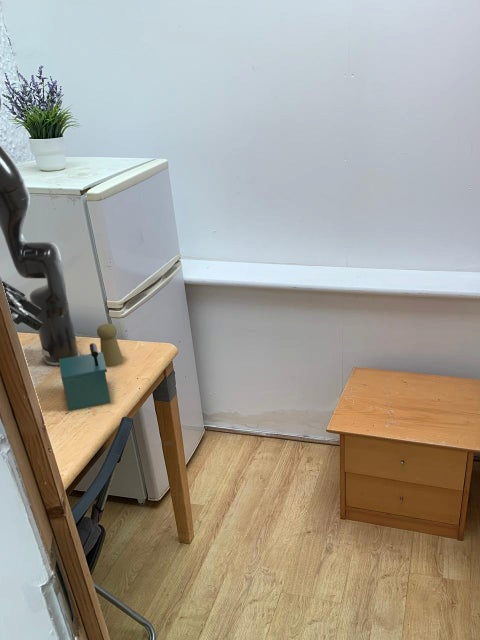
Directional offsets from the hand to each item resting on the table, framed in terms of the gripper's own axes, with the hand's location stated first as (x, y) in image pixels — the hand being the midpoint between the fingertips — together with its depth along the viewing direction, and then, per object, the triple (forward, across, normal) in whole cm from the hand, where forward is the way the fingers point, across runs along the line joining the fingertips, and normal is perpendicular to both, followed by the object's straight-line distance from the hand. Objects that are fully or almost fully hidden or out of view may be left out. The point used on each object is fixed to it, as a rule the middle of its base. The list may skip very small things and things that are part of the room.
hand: (40, 319), depth 141 cm
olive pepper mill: (+26, +18, +5) cm, 33 cm away
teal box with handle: (+15, 0, +5) cm, 15 cm away
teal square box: (+21, 0, +11) cm, 24 cm away
